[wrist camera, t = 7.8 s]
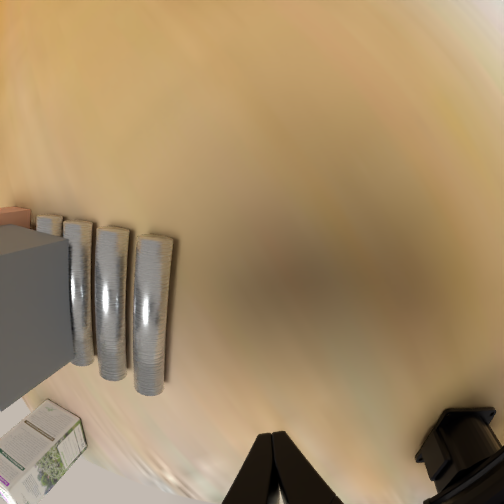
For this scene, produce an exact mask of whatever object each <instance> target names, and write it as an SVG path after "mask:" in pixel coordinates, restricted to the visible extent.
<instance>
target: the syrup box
mask: <svg viewBox="0 0 504 504" xmlns="http://www.w3.org/2000/svg"><path fill="white" fill-rule="evenodd" d="M86 448H87V444H86V441H85V437H84V433H83V429H82V425H81V421H80V418H78V417H77V416H75V415H74V414H72V413H70V412H69V411H67V410H65V409H64V408H62V407H60V406H58V405H57V404H55V403H53V402H52V401H50V400H48V399H47V400H45V401H44V402H43V403H42V404H41V405H40V406H38V407H37V408H36V409H35V410H34V411H32V412H31V413H30V414H29V415H28V416H27V417H25V418H24V419H23V420H22V421H21V422H19V423H18V424H17V425H16V426H14V427H13V428H12V429H11V430H10V431H9V432H7V433H6V434H5V435H4V436H2V437H1V438H0V497H1V498H2V499H3V500H4V501H6V502H7V503H8V504H38V503H39V502H40V501H41V500H42V499H43V498H44V496H45V495H46V494H47V493H48V492H49V491H50V490H51V488H52V487H53V486H54V485H55V484H56V483H57V482H58V480H59V479H60V478H61V477H62V476H63V475H64V474H65V472H66V471H67V470H68V469H69V468H70V467H71V466H72V464H73V463H74V462H75V461H76V460H77V458H78V457H79V456H80V455H81V454H82V453H83V452H84V451H85V450H86Z"/></svg>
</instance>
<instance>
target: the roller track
mask: <svg viewBox="0 0 504 504" xmlns="http://www.w3.org/2000/svg"><path fill="white" fill-rule="evenodd" d="M62 221H63V216H60V215H53V214H43V215H37V216H36V231H39V232H43V233H47V234H51V235H55V236H59V237H62ZM92 226H93V223H92V222H90V221H85V220H66V221H64V222H63V238H66V239H69V260H68V269H69V303H70V319H71V331H72V341H73V350H74V359H73V360H72V361H70V362H71V363H72V364H74V365H77V366H87V365H90V364H92V363H93V362H94V350H93V337H92V319H91V244H92ZM128 241H129V230H128V229H126V228H121V227H113V226H103V227H98V228H97V231H96V250H95V320H96V339H97V353H98V364H99V373H100V376H101V377H102V378H104V379H106V380H109V381H119V380H122V379H123V378H125V377H126V375H127V369H126V338H125V305H126V273H127V255H128ZM172 248H173V239H172V238H170V237H167V236H162V235H154V234H142V235H138V236H137V248H136V262H135V280H134V307H133V362H134V387H135V389H136V391H137V392H139V393H140V394H142V395H146V396H155V395H158V394H160V393H162V392H163V390H164V361H165V337H166V320H167V305H168V291H169V279H170V268H171V258H172Z"/></svg>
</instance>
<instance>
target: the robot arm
mask: <svg viewBox="0 0 504 504" xmlns="http://www.w3.org/2000/svg"><path fill="white" fill-rule="evenodd" d="M495 413H496V410H495V409H494V408H474V409H447V410H445V411H444V412H443V414H442V415H441V417H440V419H439V421H438V422H437V424H436V426H435V427H434V429H433V431H432V432H431V434H430V436H429V437H428V439H427V440H426V442H425V443H424V445H423V446H422V448H421V449H420V451H419V452H418V454H417V455H416V457H415V460H416V462H417V463H422V462H424V463H425V466H426V469H427V472H428V475H429V478H430V480H431V481H434V483H435V486H436V489H437V493H438V494H437V495H435V496H433V497H432V498H428V499H427V500H425V501H423V504H504V446H502V445H501V444H500V442H499V440H498V439H497V437H496V435H495V434H494V432H493V431H492V429H491V427H490V426H489V423H490V422H491V420H492V419H493V417H494V415H495ZM448 414H449V415H448ZM279 487H280V489H279ZM280 491H281V495H282V499H283V502H284V504H344V503H343V502H342V501H341V500H340V499H339V498H338V496H336V494H335V493H334V492H333V491H332V490H331V488H330V487H329V486H328V485H327V484H326V482H325V481H324V480H323V479H322V478H321V476H320V475H319V474H318V473H317V471H316V470H315V469H314V468H313V467H312V465H311V464H310V463H309V462H308V460H307V459H306V458H305V456H304V455H303V454H302V453H301V451H300V450H299V449H298V448H297V446H296V445H295V444H294V442H293V441H292V440H291V438H290V437H289V436H288V435H287V433H286V432H285V431H278V432H273V433H272V434H271V433H263V434H259V435H258V436H257V438H256V440H255V442H254V444H253V446H252V448H251V450H250V452H249V454H248V456H247V458H246V460H245V461H244V463H243V465H242V467H241V469H240V471H239V473H238V475H237V477H236V478H235V480H234V482H233V484H232V486H231V488H230V489H229V491H228V493H227V495H226V497H225V498H224V500H223V502H222V504H279V500H280Z"/></svg>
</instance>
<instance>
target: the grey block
mask: <svg viewBox="0 0 504 504" xmlns="http://www.w3.org/2000/svg"><path fill="white" fill-rule="evenodd" d="M68 260H69V239H66V238H62V237H59V236H55V235H51V234H47V233H43V232H39V231H36V230H32V229H28V228H24V227H21V226H17V225H13V224H7V225H1V226H0V411H3V410H4V409H6V408H7V407H9V406H10V405H11V404H13V403H14V402H15V401H17V400H18V399H19V398H21V397H22V396H23V395H25V394H26V393H28V392H29V391H30V390H32V389H33V388H34V387H36V386H37V385H38V384H40V383H41V382H43V381H44V380H45V379H47V378H48V377H49V376H51V375H52V374H54V373H55V372H56V371H58V370H59V369H61V368H62V367H63V366H65V365H66V364H67V363H69V362H70V361H72V360H73V359H74V350H73V341H72V331H71V319H70V303H69V269H68Z"/></svg>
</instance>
